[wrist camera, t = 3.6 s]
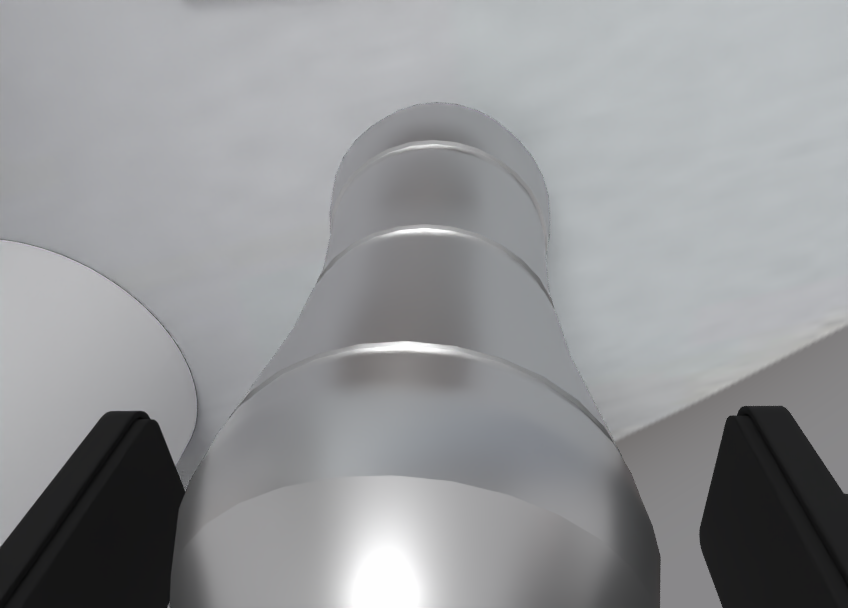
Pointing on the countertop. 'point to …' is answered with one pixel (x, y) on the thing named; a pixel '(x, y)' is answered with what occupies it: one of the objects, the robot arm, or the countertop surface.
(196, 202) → the countertop surface
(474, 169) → the silver bottle
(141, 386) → the canister
